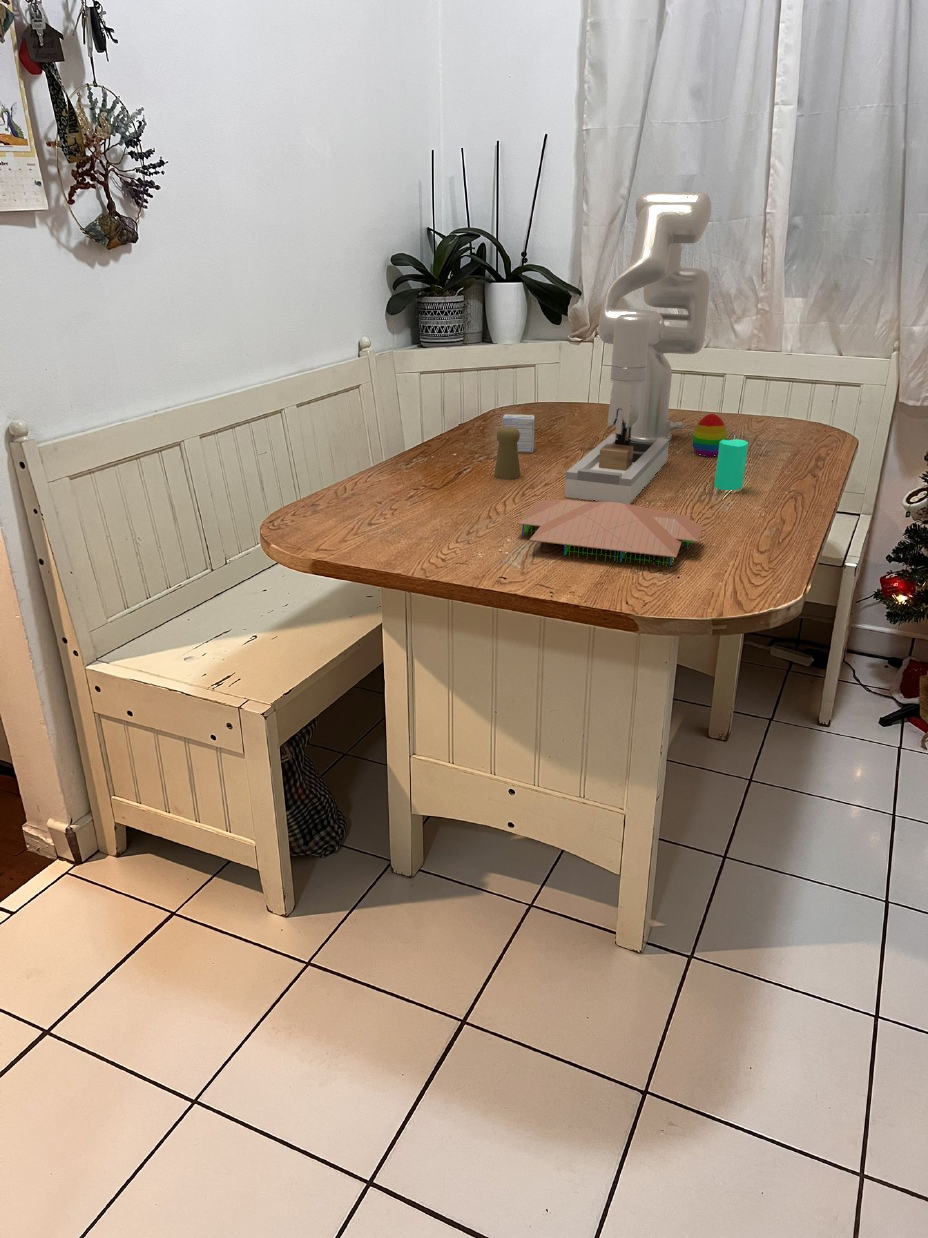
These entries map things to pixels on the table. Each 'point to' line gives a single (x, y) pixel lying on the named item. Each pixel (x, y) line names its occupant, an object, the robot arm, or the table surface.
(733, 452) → the candle
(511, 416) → the medicine box
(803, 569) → the table surface
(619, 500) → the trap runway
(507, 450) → the olive pawn
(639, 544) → the house
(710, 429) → the decorative egg
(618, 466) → the walnut block
